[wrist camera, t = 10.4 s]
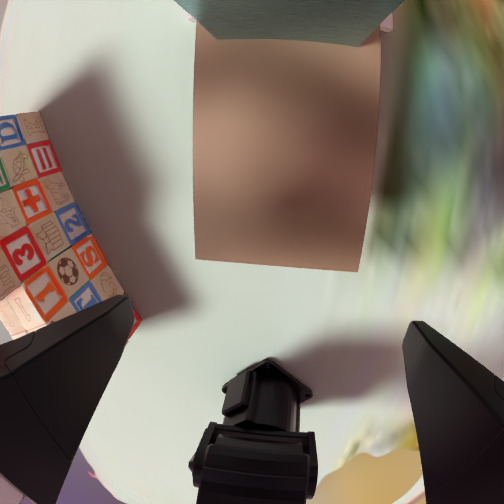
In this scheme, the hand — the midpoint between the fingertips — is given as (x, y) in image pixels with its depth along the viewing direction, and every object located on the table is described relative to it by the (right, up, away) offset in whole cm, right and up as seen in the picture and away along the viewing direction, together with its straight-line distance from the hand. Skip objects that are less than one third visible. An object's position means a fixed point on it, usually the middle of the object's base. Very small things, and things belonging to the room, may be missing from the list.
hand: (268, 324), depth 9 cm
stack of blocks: (-17, +4, +15) cm, 23 cm away
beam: (+2, +15, +5) cm, 16 cm away
